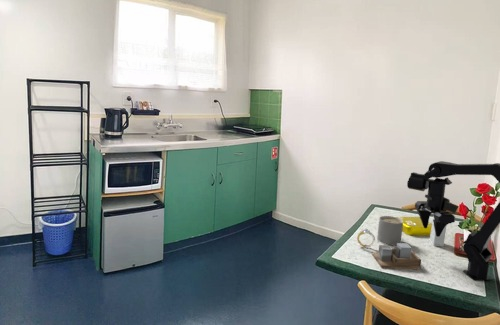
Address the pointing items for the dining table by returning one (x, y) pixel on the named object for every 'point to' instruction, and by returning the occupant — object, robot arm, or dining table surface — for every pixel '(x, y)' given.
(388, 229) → the coffee mug
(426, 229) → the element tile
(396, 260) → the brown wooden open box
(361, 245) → the ring
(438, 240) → the skincare box
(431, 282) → the dining table surface
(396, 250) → the block
